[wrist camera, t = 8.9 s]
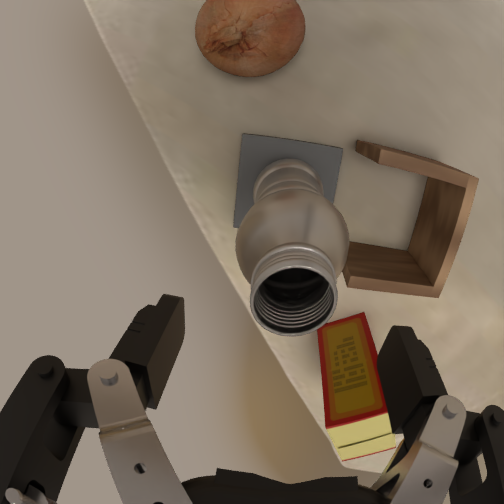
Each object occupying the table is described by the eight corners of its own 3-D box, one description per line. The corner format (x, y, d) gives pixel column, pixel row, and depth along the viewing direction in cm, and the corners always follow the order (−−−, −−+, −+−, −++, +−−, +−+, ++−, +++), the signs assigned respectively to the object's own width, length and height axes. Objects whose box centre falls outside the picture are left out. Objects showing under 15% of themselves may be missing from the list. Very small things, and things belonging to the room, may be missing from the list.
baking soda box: (316, 326, 38) (325, 430, 24) (364, 311, 37) (393, 412, 22) (332, 370, 42) (342, 463, 28) (374, 358, 40) (396, 450, 26)
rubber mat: (243, 133, 29) (242, 133, 28) (341, 148, 28) (343, 149, 28) (234, 224, 33) (233, 227, 33) (324, 237, 33) (325, 240, 32)
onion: (249, 75, 29) (214, 109, 23) (203, 10, 24) (150, 24, 17) (328, 41, 23) (319, 61, 17) (280, -33, 18) (249, -43, 12)
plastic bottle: (242, 190, 31) (184, 307, 13) (286, 141, 28) (292, 190, 10) (289, 229, 32) (291, 378, 14) (333, 184, 29) (402, 295, 12)
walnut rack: (357, 139, 28) (380, 148, 21) (440, 162, 28) (478, 178, 20) (334, 249, 33) (347, 287, 26) (412, 261, 33) (438, 297, 26)
